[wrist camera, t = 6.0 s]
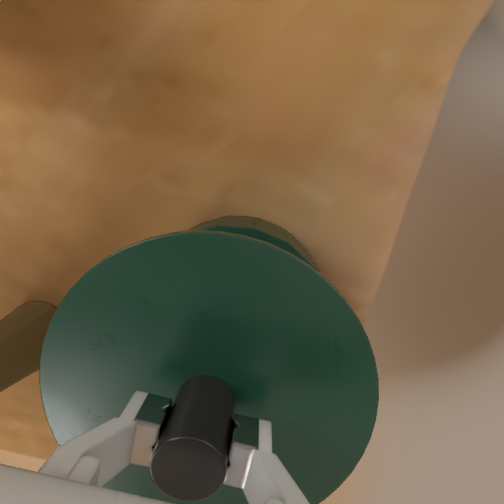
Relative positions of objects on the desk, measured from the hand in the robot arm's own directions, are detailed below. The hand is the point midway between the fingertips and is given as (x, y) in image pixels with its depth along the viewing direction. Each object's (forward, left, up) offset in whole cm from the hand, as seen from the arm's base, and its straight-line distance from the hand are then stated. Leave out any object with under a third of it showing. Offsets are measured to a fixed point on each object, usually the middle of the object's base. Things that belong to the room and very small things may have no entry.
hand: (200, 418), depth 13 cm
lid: (0, 0, -2) cm, 2 cm away
